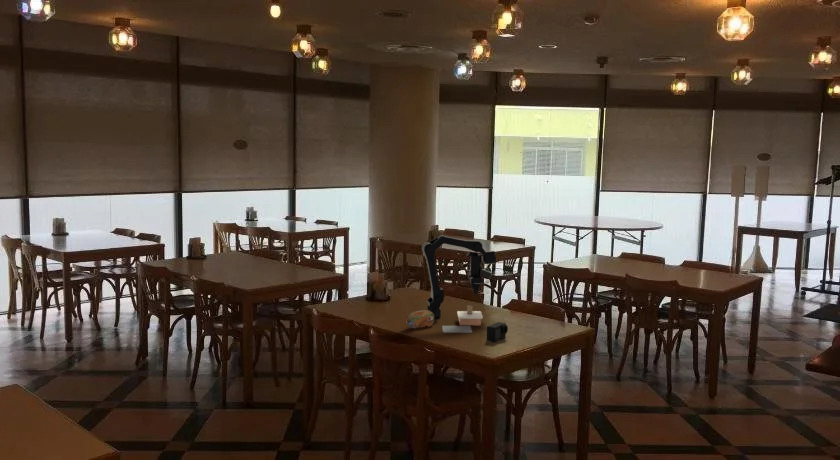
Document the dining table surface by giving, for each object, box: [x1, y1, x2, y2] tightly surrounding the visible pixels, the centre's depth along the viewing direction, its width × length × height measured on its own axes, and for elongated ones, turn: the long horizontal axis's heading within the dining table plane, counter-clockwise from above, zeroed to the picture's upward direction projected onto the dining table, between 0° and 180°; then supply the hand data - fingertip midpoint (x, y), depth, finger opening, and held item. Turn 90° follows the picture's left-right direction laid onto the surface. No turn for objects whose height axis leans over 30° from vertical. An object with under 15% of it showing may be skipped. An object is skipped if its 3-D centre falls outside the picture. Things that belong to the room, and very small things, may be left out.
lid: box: [456, 305, 484, 320], centre depth 360 cm, size 12×12×5 cm
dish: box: [458, 319, 482, 326], centre depth 360 cm, size 10×10×4 cm
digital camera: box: [486, 321, 509, 343], centre depth 330 cm, size 10×5×7 cm, turn 145°
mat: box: [441, 325, 473, 334], centre depth 348 cm, size 14×13×1 cm
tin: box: [405, 309, 436, 329], centre depth 352 cm, size 15×3×8 cm, turn 117°
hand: (475, 293), depth 375 cm, fingers open, 9 cm apart
